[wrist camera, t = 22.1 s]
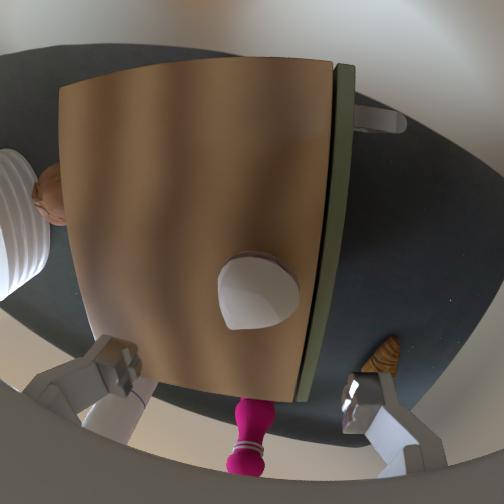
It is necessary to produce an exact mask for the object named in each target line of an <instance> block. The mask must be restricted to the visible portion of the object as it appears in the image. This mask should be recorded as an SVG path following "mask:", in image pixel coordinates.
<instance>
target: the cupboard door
mask: <svg viewBox="0 0 504 504" xmlns="http://www.w3.org/2000/svg"><path fill="white" fill-rule="evenodd" d="M406 127H407V120H406V118H405V116H404V115H403V114H401V113H399V112H396V111H391V110H386V109H381V108H375V107H369V106H363V105H357V104H355V66H354V65H348V64H341V63H338V64H337V66H336V67H335V69H334V70H333V92H332V116H331V134H330V149H329V163H328V175H327V186H326V196H325V206H324V215H323V224H322V232H321V240H320V248H319V256H318V263H317V270H316V277H315V284H314V290H313V297H312V303H311V309H310V315H309V321H308V327H307V332H306V338H305V343H304V348H303V354H302V359H301V364H300V369H299V374H298V378H297V385H296V401H298V402H307V401H308V398H309V394H310V390H311V387H312V383H313V379H314V375H315V371H316V367H317V363H318V359H319V355H320V351H321V346H322V342H323V338H324V333H325V329H326V324H327V319H328V315H329V310H330V305H331V300H332V294H333V289H334V284H335V278H336V272H337V267H338V261H339V254H340V248H341V241H342V235H343V228H344V220H345V212H346V204H347V196H348V187H349V177H350V167H351V155H352V142H353V131H359V132H366V133H402V132H404V131H405V129H406Z"/></svg>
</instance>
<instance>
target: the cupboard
mask: <svg viewBox="0 0 504 504" xmlns="http://www.w3.org/2000/svg"><path fill="white" fill-rule="evenodd" d="M332 92H333V62H331V61H323V60H313V59H301V58H283V57H224V58H207V59H195V60H186V61H177V62H169V63H162V64H156V65H149V66H144V67H138V68H133V69H128V70H123V71H119V72H114V73H110V74H106V75H102V76H98V77H94V78H91V79H87V80H83V81H80V82H77V83H73V84H70V85H67V86H64V87H61V88H60V92H59V156H60V171H61V183H62V193H63V202H64V209H65V216H66V223H67V229H68V235H69V241H70V246H71V251H72V256H73V261H74V266H75V270H76V275H77V279H78V283H79V287H80V291H81V295H82V298H83V302H84V305H85V309H86V312H87V316H88V319H89V322H90V326H91V329H92V332H93V335H94V338H95V341H97V340H98V339H99V338H100V336H101V335H104V334H105V335H109V336H112V337H116V338H119V339H123V340H126V341H130V342H133V343H136V344H137V347H138V352H137V353H136V354H137V355H138V356H139V357H140V358H141V361H142V370H141V374H140V377H144V378H147V379H151V380H155V381H159V382H163V383H168V384H172V385H176V386H181V387H186V388H191V389H196V390H201V391H206V392H212V393H218V394H224V395H230V396H237V397H244V398H252V399H260V400H269V401H279V402H292V401H293V397H294V392H295V388H296V383H297V378H298V374H299V369H300V364H301V359H302V354H303V348H304V343H305V338H306V332H307V327H308V321H309V315H310V309H311V303H312V297H313V290H314V284H315V277H316V270H317V263H318V256H319V248H320V240H321V232H322V224H323V215H324V206H325V196H326V186H327V175H328V163H329V149H330V134H331V116H332ZM243 251H260V252H266V253H269V254H271V255H273V256H276V257H278V258H280V259H281V260H282V261H284V262H285V263H286V264H287V265H288V266H289V267H291V268H292V270H293V272H294V273H295V275H296V276H297V278H298V282H299V286H300V304H299V306H298V307H297V309H296V310H295V312H294V313H292V314H291V316H290V317H289V318H287V319H285V320H284V321H282V322H280V323H278V324H276V325H273V326H271V327H265V328H258V329H238V330H231V329H229V328H228V327H227V325H226V323H225V320H224V317H223V315H222V312H221V309H220V306H219V298H218V277H219V274H220V272H221V270H222V268H223V266H224V265H225V263H226V262H227V261H228V260H229V259H230V258H231V257H232V256H234V255H236V254H238V253H241V252H243Z"/></svg>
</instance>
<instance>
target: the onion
mask: <svg viewBox="0 0 504 504" xmlns="http://www.w3.org/2000/svg"><path fill="white" fill-rule="evenodd" d="M31 192H32V191H31ZM31 200H32V202H33V203H34V207H36V208H37V209H38V211H39V212H40V214H41V215H42V216H43V217H44V219H45V220H46V221H48V222H49V223H51V224H54V225H58V226H62V225H67V223H66V216H65V209H64V202H63V193H62V183H61V171H60V162H58V163H55V164H53V165H51V166H49V167H48V168H47V169H45V170H44V172H43V173H42V174H41V175H40V177H39V180H38V182H37V183H36V181H35V183H34V187H33V192H32V195H31Z"/></svg>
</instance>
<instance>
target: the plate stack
mask: <svg viewBox="0 0 504 504" xmlns="http://www.w3.org/2000/svg"><path fill="white" fill-rule="evenodd" d="M35 181H36V183H37V182H38V178H37V176H36V174H35V172H34V170H33V168H32V167H31V165H30V164H29V162H28V161H27V160H26V159H25V157H24V156H22V155H21V154H20V153H19V152H17V151H15V150H13V149H1V150H0V301H2V300H3V299H4V298H6V297H7V296H8V295H9V294H11V293H12V292H13V291H15V290H16V289H17V288H19V287H20V286H21V285H23V284H24V283H25V282H27V281H28V280H29V279H31V278H32V277H33V276H35V275H36V274H38V273H39V272H40V271H41V270H42V269H43V267H44V266H45V264H46V261H47V258H48V255H49V249H50V223H49V222H48V221H46V220H45V219H44V217H43V216H42V215H41V214H40V212H39V211H38V209H37V208H36V207H34V203H33V202H32V200H31V195H32V192H33V187H34V183H35ZM31 191H32V192H31Z"/></svg>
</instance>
